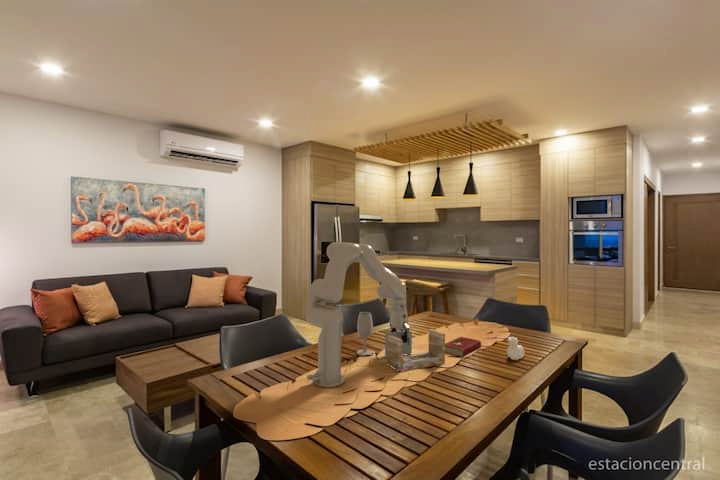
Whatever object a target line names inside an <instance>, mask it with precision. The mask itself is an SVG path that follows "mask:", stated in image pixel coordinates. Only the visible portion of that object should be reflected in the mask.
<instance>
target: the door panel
mask: <svg viewBox="0 0 720 480" xmlns="http://www.w3.org/2000/svg"><path fill="white" fill-rule="evenodd" d="M404 331H405V330H404ZM404 331H403V332H404ZM412 332H413V331H412V330H410V329H409V333H408V335H407V342H406V343H403V355H404V354H409V353H412V349H413V347H412V344H413V342H412V341H413V339H412V338H413V334H412ZM388 335H392V336H395V337H397V338H399V339H401V335H402V333H401V331H400V330H397V331H396V332H391V331H390V332H389V331H388V332H385V333H384V345H385V346H384V357H385V356H386V358H387V357H388Z"/></svg>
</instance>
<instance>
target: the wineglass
mask: <svg viewBox="0 0 720 480" xmlns="http://www.w3.org/2000/svg"><path fill="white" fill-rule="evenodd" d="M356 329H357V335H359V337H360V338H361V339H362V340H363V349H358V350H357V351H356V354H357V355H358V356H361V357H367V356H366V355H370V356H372V355H373V354H374V351H373V350H371V349H367V339H369V338H370V337H371V336H372V334H373V330H374V322H373V316H372V313H371V312H370V311H360V312H359V314H358V316H357V324H356ZM372 353H373V354H372ZM371 354H372V355H371Z"/></svg>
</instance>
